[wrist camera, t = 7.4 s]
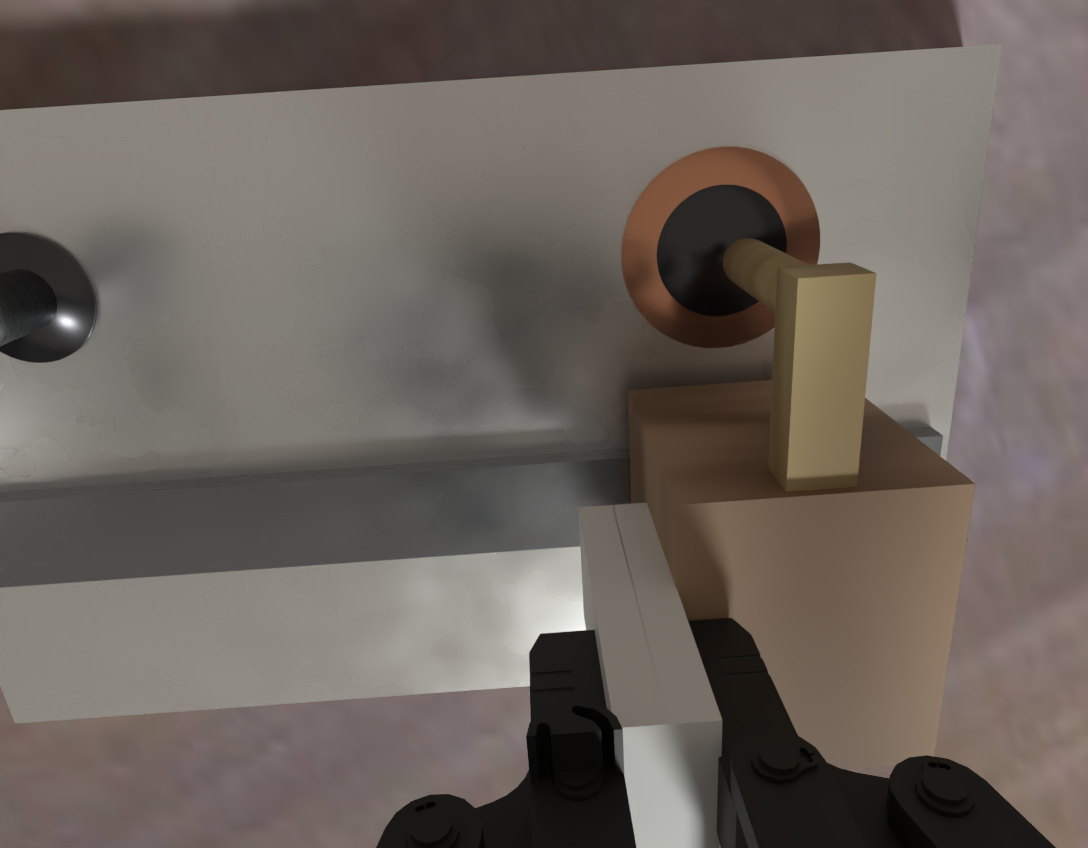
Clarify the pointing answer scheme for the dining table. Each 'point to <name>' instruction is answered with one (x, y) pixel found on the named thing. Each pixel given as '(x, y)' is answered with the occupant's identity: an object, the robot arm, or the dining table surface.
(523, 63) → the dining table surface
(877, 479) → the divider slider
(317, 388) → the bolt plate
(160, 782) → the dining table surface
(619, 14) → the dining table surface
